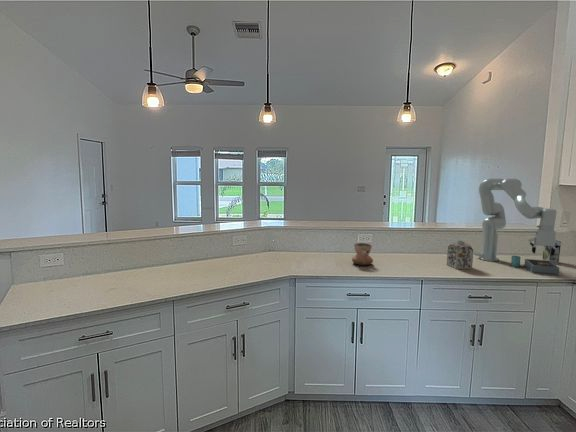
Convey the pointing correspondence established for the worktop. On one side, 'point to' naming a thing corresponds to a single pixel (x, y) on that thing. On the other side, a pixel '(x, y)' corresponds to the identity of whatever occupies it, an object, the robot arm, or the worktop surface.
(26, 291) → the worktop surface
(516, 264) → the teal cylinder
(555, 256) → the coffee box
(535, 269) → the tote
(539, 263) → the walnut cube
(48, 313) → the worktop surface
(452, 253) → the decorative jar
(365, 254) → the ceramic jug
